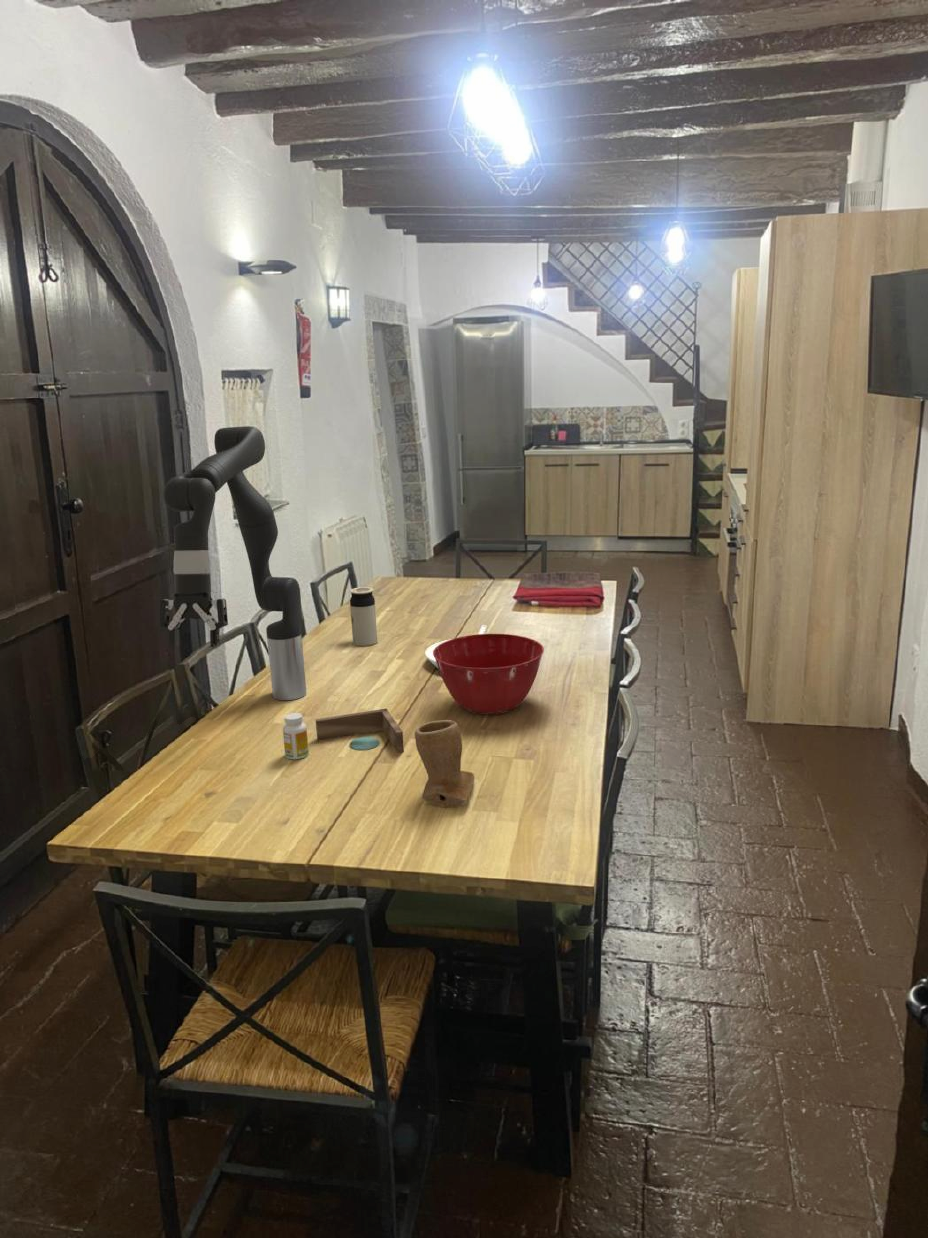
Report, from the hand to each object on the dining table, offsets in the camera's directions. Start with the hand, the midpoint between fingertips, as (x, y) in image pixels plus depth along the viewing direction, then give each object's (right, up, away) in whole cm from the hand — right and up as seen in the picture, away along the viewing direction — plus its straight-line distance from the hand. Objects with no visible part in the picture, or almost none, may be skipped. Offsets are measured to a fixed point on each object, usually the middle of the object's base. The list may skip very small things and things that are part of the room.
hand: (194, 647), depth 193 cm
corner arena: (+33, -24, +19) cm, 45 cm away
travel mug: (+26, -2, +100) cm, 103 cm away
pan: (+62, -5, +84) cm, 104 cm away
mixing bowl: (+65, -17, +41) cm, 79 cm away
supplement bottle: (+19, -26, +15) cm, 35 cm away
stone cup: (+54, -30, -7) cm, 62 cm away
